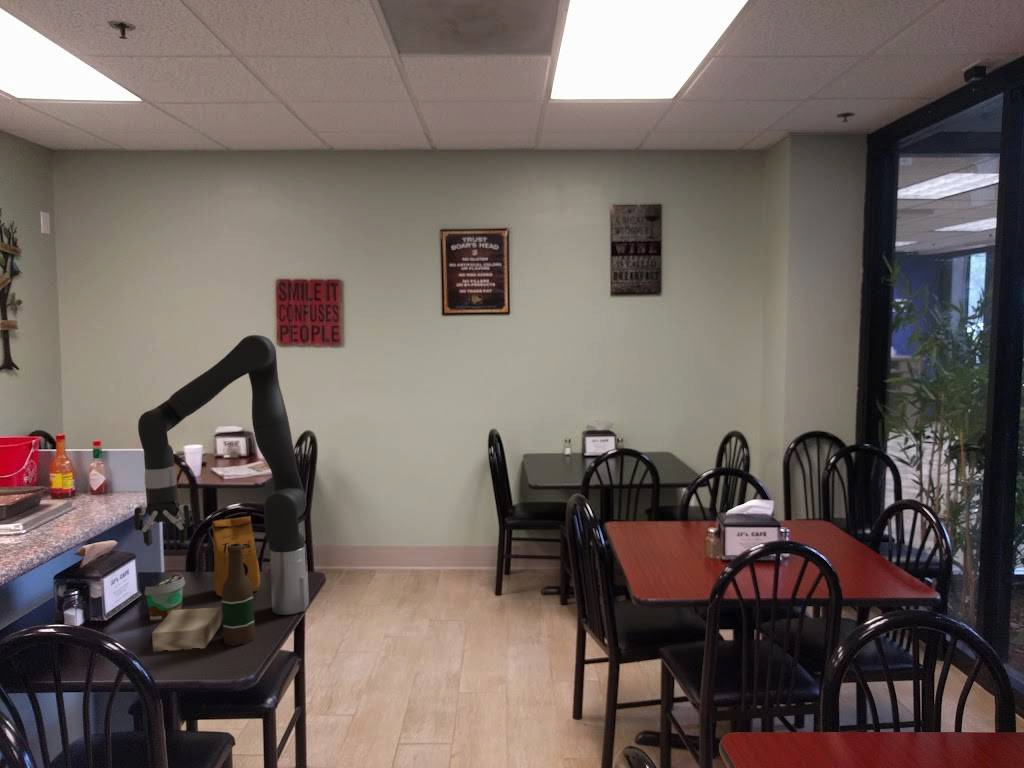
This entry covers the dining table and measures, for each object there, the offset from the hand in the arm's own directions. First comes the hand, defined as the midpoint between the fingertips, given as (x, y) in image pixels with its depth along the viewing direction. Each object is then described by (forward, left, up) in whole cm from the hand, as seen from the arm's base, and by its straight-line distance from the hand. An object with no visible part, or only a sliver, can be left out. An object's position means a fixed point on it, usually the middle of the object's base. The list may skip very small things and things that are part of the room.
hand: (165, 543), depth 197 cm
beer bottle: (-23, +18, -20) cm, 35 cm away
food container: (0, -1, -20) cm, 20 cm away
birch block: (-9, +14, -20) cm, 27 cm away
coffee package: (-13, -17, -20) cm, 29 cm away
